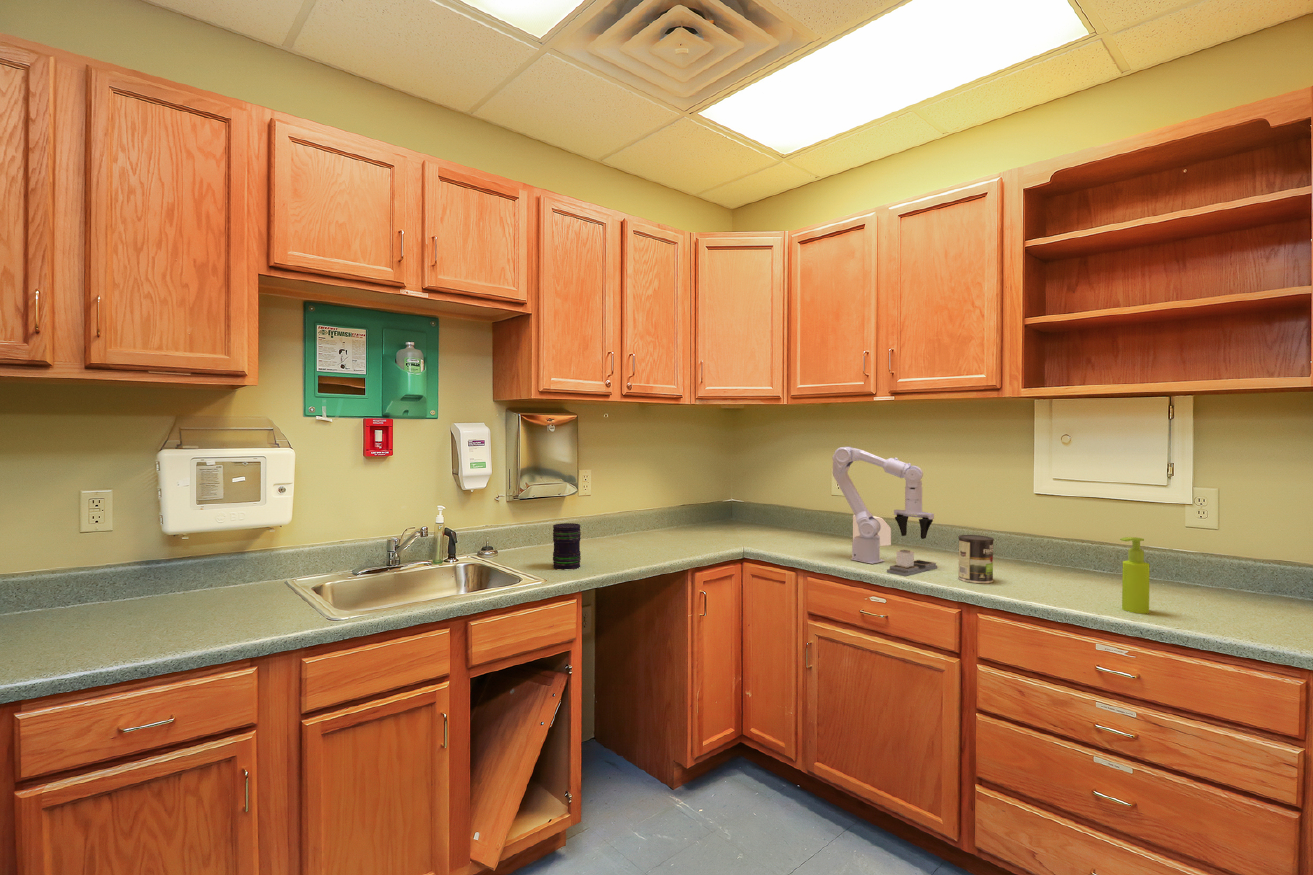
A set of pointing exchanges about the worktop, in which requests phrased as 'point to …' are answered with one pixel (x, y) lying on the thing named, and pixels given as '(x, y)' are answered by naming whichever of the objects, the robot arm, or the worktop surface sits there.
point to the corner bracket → (883, 533)
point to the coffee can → (976, 559)
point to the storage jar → (566, 546)
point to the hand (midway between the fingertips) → (913, 537)
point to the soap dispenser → (1135, 579)
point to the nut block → (905, 559)
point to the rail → (918, 568)
